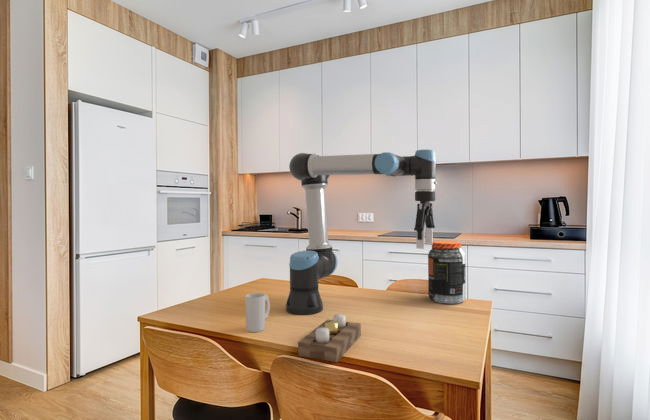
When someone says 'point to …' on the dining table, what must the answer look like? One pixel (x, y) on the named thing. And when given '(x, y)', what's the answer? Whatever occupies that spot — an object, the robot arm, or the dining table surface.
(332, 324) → the plug brass
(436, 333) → the dining table surface
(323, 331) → the grey plug
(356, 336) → the socket block
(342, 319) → the grey plug
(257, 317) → the mug
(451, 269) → the supplement tub
